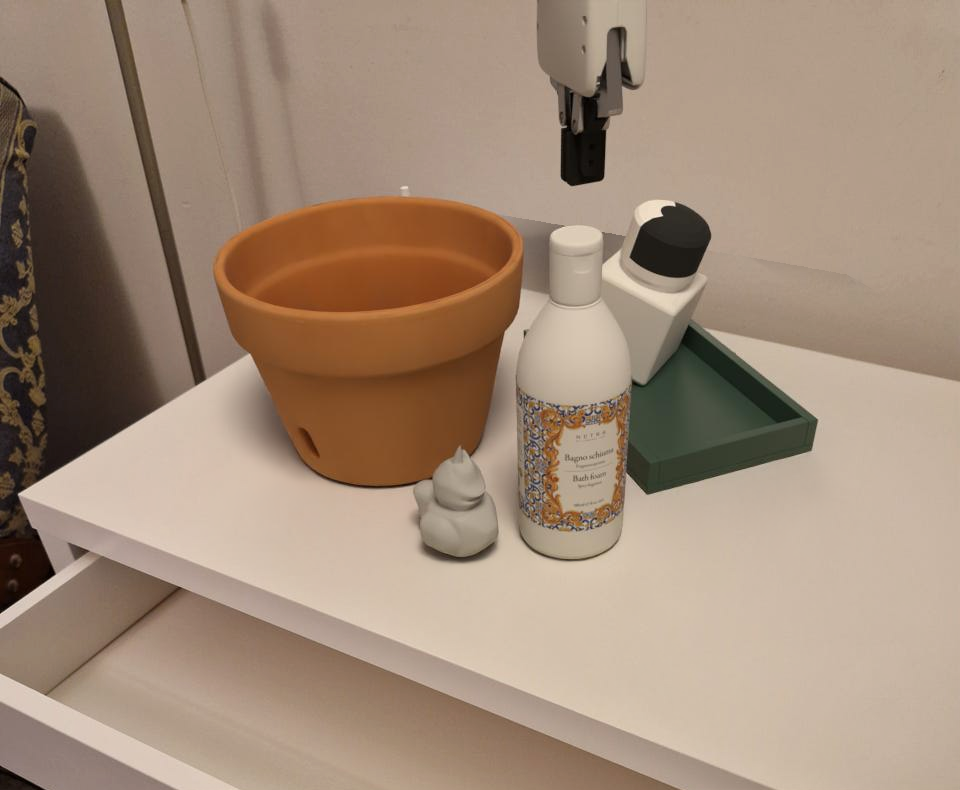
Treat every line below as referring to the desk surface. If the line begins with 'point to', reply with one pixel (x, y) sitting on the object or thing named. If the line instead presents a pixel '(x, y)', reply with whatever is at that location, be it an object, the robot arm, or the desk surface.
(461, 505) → the rubber duck
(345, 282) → the flower pot
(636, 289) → the medicine bottle
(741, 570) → the desk surface
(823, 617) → the desk surface
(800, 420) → the tray
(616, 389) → the bath foam
